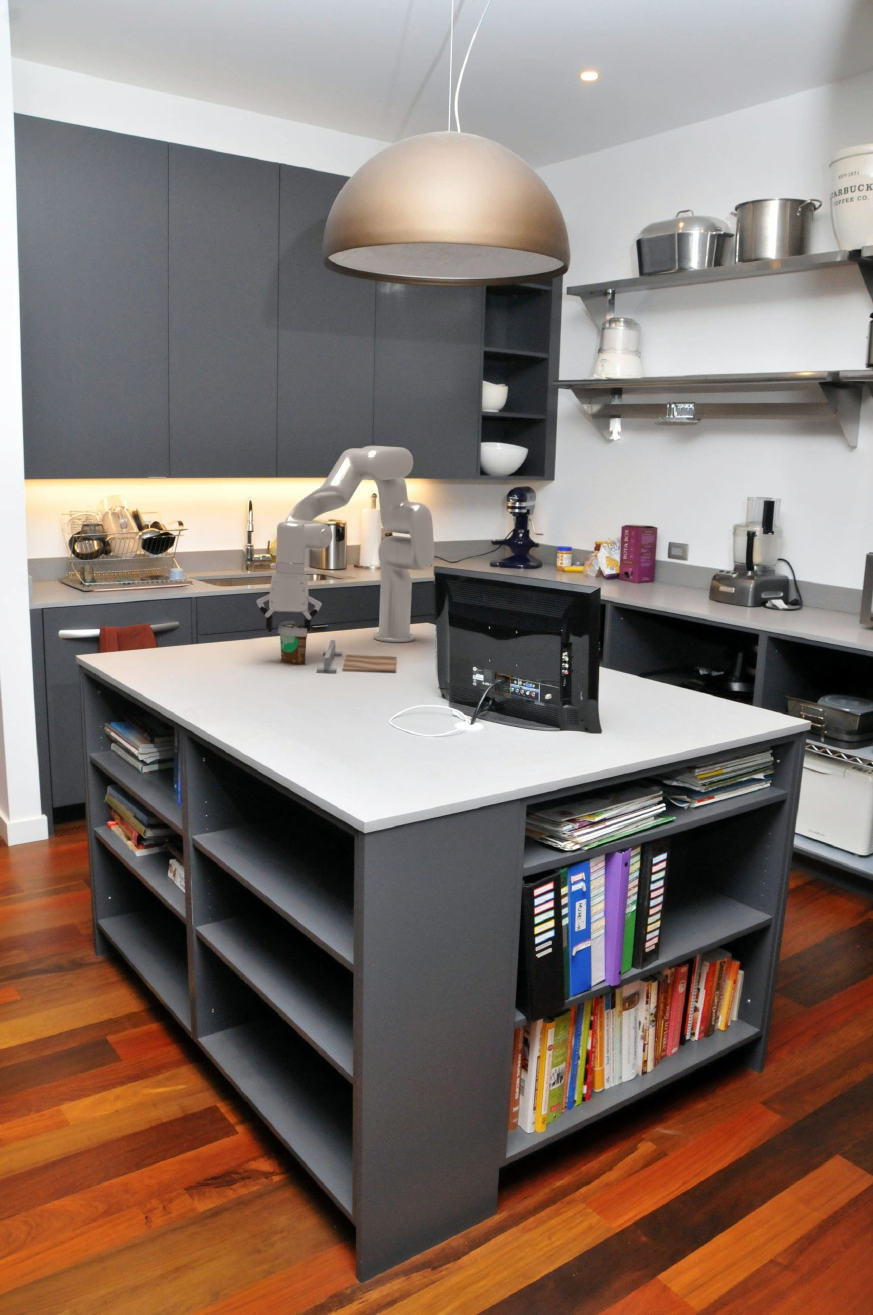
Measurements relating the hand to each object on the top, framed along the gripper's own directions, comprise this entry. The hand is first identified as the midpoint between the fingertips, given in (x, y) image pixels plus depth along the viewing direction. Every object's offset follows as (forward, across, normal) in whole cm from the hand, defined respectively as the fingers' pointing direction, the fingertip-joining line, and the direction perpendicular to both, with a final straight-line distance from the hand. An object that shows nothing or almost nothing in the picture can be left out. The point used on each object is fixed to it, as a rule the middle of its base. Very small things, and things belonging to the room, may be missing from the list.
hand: (288, 632), depth 269 cm
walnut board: (+8, +22, 0) cm, 24 cm away
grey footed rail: (+8, +11, 0) cm, 14 cm away
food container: (+8, 0, 0) cm, 8 cm away
